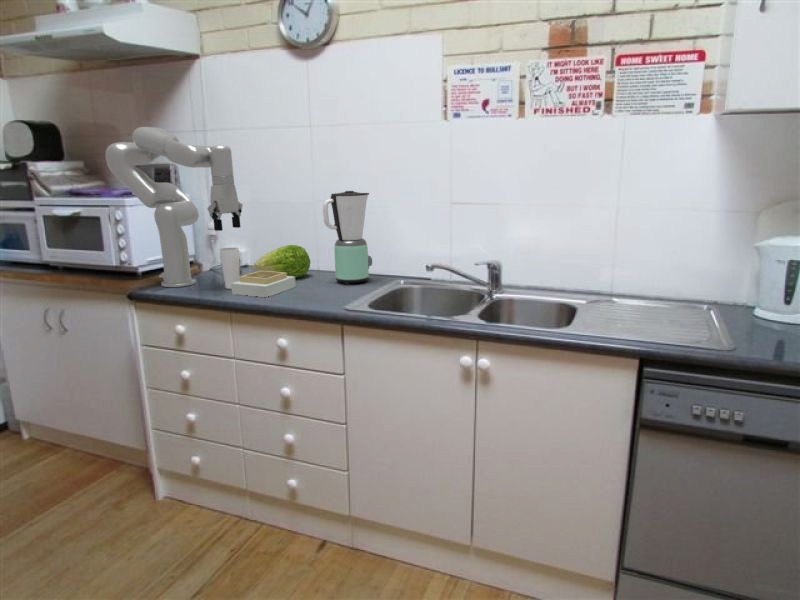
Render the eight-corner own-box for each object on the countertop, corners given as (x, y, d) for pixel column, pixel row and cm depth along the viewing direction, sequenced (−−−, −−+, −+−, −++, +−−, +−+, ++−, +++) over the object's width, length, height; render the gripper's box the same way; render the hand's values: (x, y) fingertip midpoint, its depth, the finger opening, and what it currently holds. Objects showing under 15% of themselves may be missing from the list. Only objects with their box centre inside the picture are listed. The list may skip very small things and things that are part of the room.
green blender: (363, 276, 221) (360, 189, 212) (379, 282, 209) (377, 191, 201) (320, 281, 211) (316, 191, 203) (334, 288, 200) (330, 193, 191)
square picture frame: (232, 294, 193) (230, 277, 192) (265, 283, 210) (264, 268, 209) (266, 297, 187) (264, 280, 186) (297, 286, 204) (296, 270, 203)
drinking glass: (236, 290, 199) (233, 250, 195) (220, 289, 200) (216, 250, 197) (245, 286, 205) (241, 247, 202) (229, 285, 207) (225, 247, 203)
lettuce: (269, 273, 234) (259, 244, 229) (318, 269, 225) (309, 238, 220) (250, 288, 221) (240, 257, 216) (301, 283, 212) (291, 251, 207)
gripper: (231, 180, 202) (235, 226, 206) (197, 182, 187) (202, 231, 191) (247, 180, 199) (251, 226, 203) (214, 182, 184) (219, 232, 188)
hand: (227, 228), depth 197 cm, fingers open, 9 cm apart
